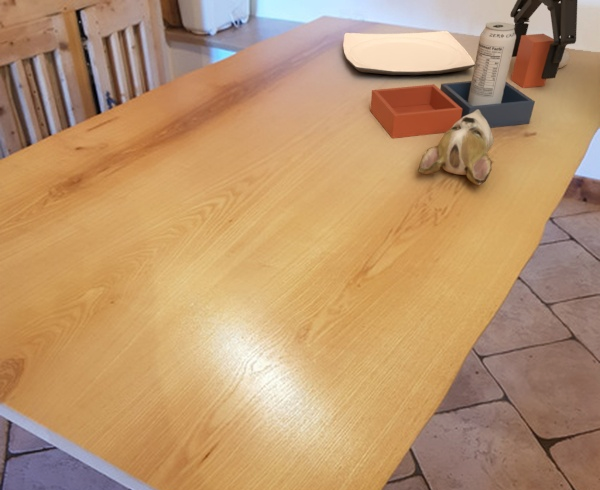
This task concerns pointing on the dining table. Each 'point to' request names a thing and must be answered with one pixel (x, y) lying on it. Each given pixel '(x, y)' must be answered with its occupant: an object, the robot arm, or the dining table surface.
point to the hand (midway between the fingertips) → (530, 66)
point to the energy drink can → (492, 63)
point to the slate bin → (506, 113)
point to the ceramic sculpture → (462, 150)
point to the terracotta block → (531, 60)
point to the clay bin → (414, 110)
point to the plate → (406, 53)
